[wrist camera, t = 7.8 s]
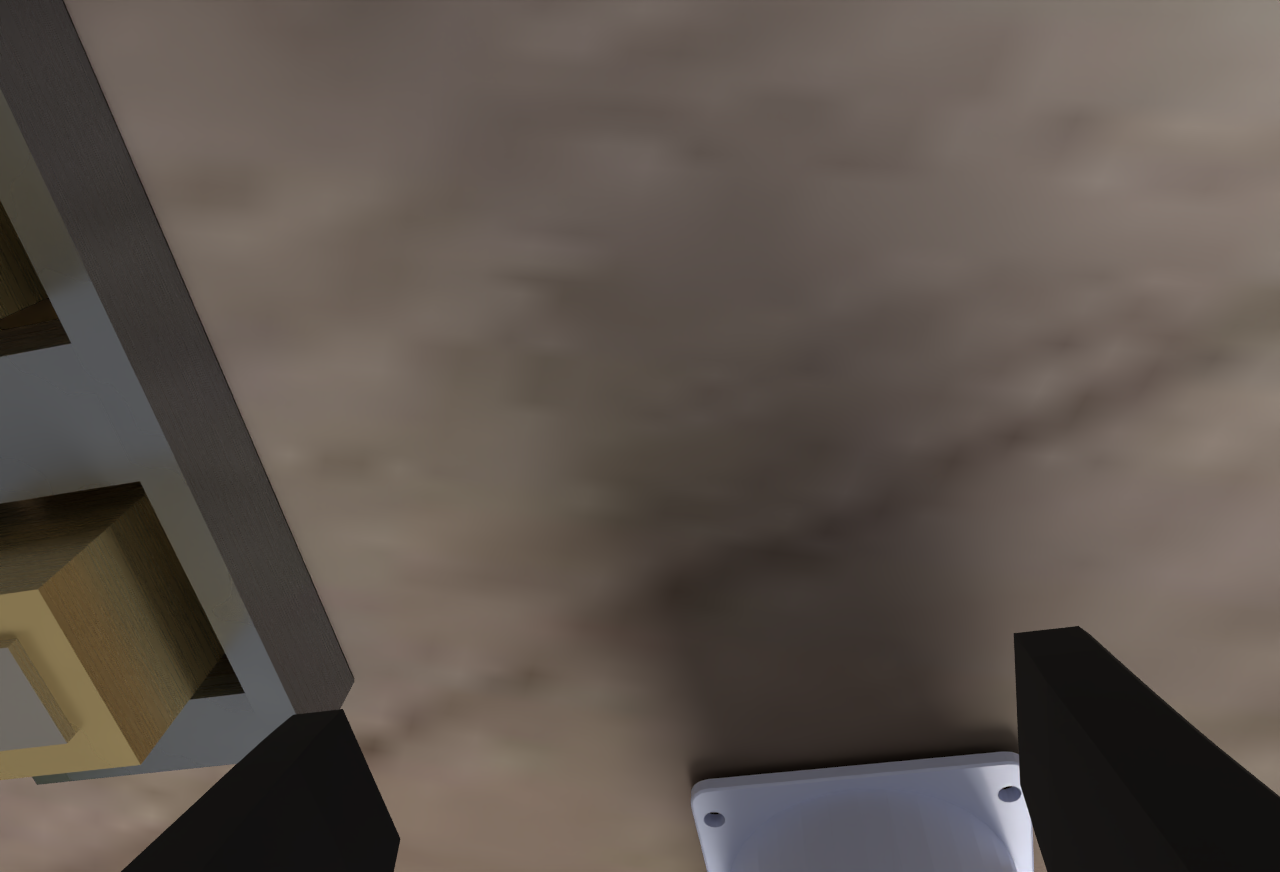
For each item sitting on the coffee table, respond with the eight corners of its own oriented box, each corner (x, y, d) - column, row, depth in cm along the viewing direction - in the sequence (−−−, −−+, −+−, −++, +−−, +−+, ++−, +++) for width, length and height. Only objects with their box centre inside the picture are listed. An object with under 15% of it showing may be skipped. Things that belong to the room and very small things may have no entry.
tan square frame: (261, 603, 21) (132, 775, 17) (110, 623, 22) (-54, 795, 17) (191, 454, 20) (27, 598, 15) (31, 480, 20) (-175, 627, 16)
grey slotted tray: (354, 681, 22) (315, 755, 20) (99, 711, 23) (37, 784, 21) (13, -114, 15) (-104, -131, 13) (-330, -17, 16) (-490, -18, 14)
